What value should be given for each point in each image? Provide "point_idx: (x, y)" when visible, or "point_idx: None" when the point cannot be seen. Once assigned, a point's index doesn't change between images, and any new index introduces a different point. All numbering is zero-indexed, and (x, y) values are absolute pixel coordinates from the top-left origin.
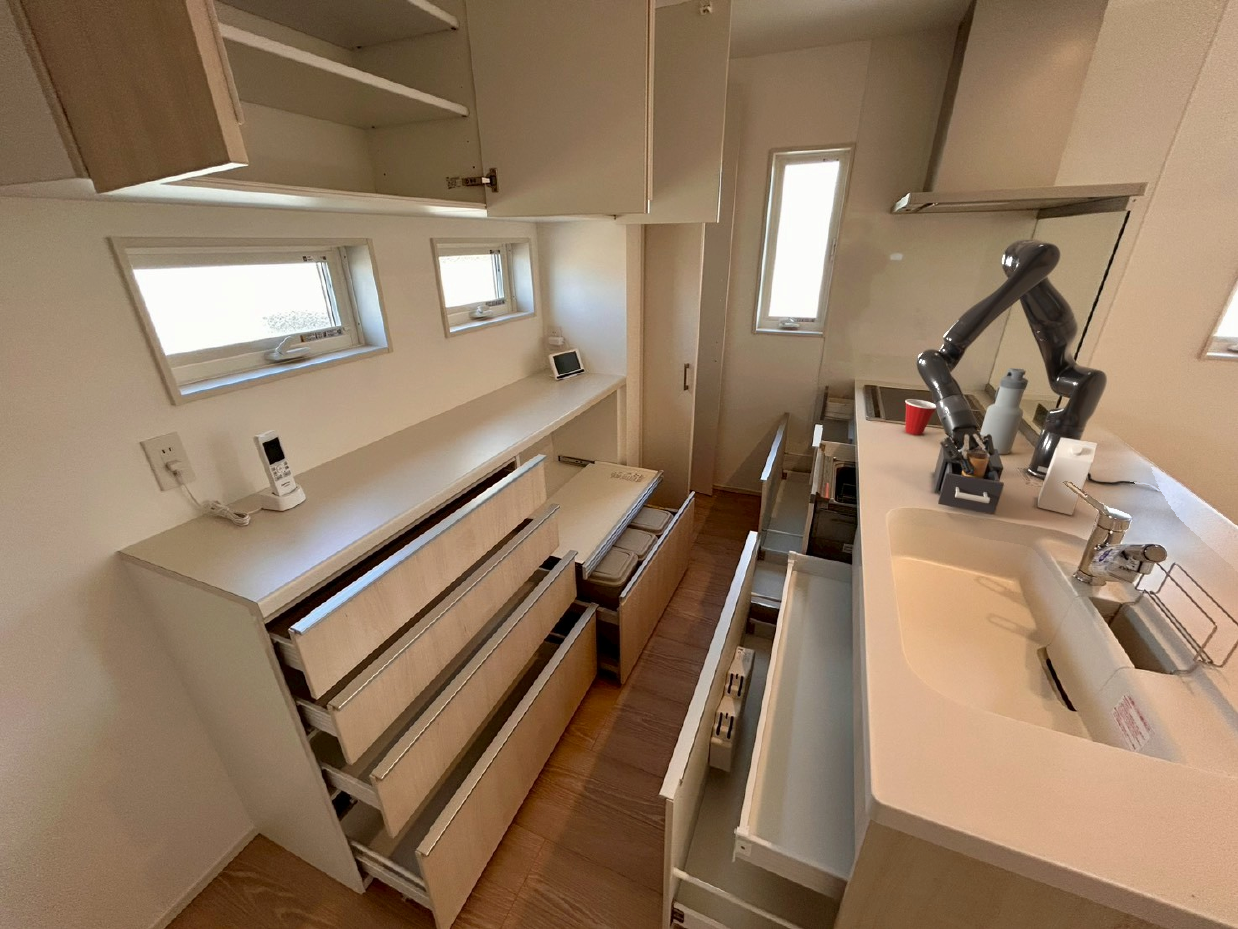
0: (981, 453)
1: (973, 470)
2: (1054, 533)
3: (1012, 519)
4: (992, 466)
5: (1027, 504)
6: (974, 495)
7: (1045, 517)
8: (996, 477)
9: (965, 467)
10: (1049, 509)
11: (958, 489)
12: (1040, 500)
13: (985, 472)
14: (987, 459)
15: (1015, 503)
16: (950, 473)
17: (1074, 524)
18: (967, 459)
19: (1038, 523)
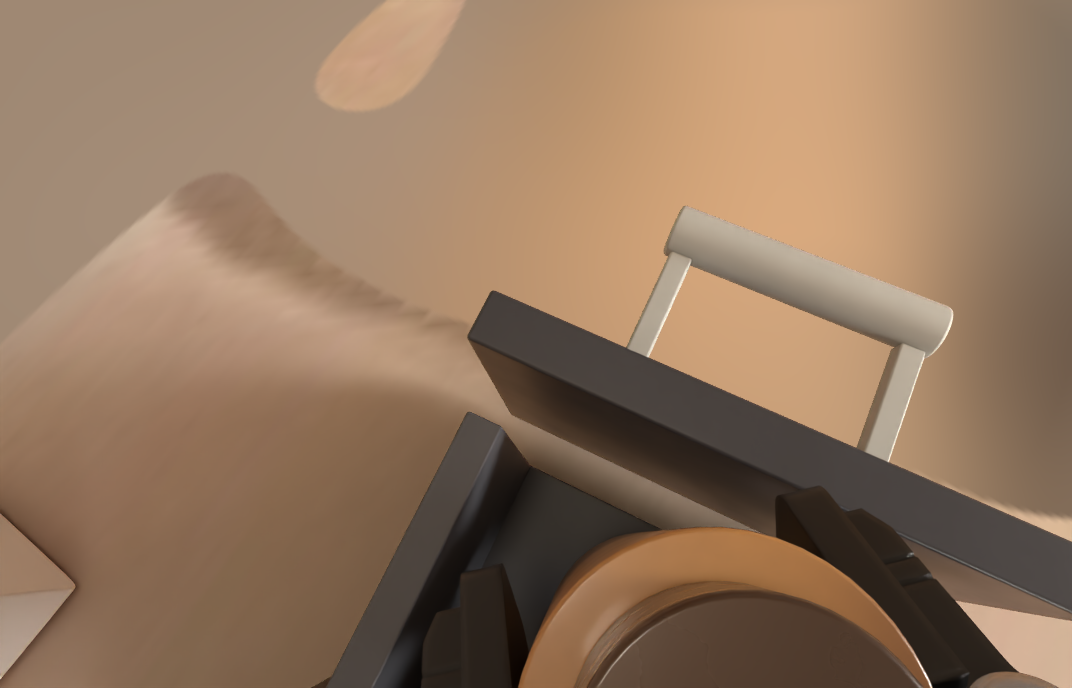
0: (796, 611)
1: (797, 503)
2: (272, 220)
3: (401, 381)
4: (424, 653)
5: (104, 648)
6: (798, 259)
7: (151, 428)
8: (445, 504)
9: (916, 572)
10: (27, 539)
11: (879, 428)
12: (24, 588)
13: (521, 633)
14: (605, 569)
15: (185, 662)
16: (1047, 588)
17: (49, 343)
18: (957, 674)
19: (268, 338)
